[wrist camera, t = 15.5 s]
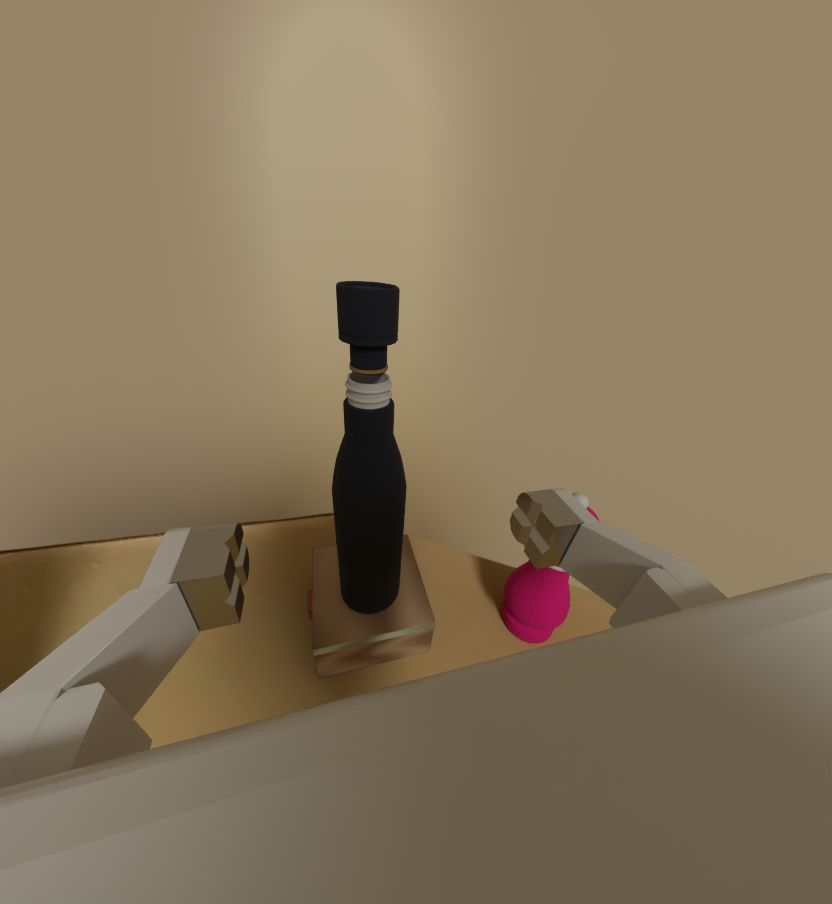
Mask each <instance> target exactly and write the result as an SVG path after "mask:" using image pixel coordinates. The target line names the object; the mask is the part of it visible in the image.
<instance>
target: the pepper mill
mask: <svg viewBox="0 0 832 904" xmlns="http://www.w3.org/2000/svg"><path fill="white" fill-rule="evenodd" d="M572 495H573V496H574V497H575V498H576V499H577V500H578V501H579V502H580V503H581V504H582V505H583V506H584V507H585V508H586V509H587V510H588V511H589V512H590V513H591V514H592V515H593V516H594V517H595V518H596V519H597V520H598V521H599V519H598V517H597V516H596V514H595V513H594V512H593V511H592V510H591V509H590V508H589V507H588V504H589V502H588V498H587V497H586V496H585V495H584V494H582V493H573V494H572ZM599 522H600V521H599ZM559 566H560V565H558V566H551V567H544V568H538V569H536V568H535V567H534V565H533V564H532V562H531V561H530V559H529V561H528V562H526V563H525V564H523V565H521V566H520V567H518V568H516V569H515V570H514V571H513V572H512V573H511V575H510V576H509V578H508V580H507V582H506V584H505V588H504V597H505V599H504V602H503V605H502V609H501V613H502V618H503V621H504V623H505V625H506V626H507V628H508V629H509V631H510V632H511V633H513V634H514V635H515V636H516V637H517V638H519V639H521V640H523V641H526V642H529V643H541V642H544V641H545V640H547V639H548V638H549V637H550V636H551V634H552V632H553V630H554V628H556V627H558V626H560V625H561V624H562V623H563V622H564V620H565V619H566V617H567V614H568V611H569V608H570V592H569V584H568V580H569V575H570V574H568V573H567V572H566V571H564V570H563V569H562V568H560V567H559Z"/></svg>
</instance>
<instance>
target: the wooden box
mask: <svg viewBox="0 0 832 904" xmlns="http://www.w3.org/2000/svg"><path fill="white" fill-rule="evenodd" d="M308 613H309V619H312V646H313V656H314V658H315V663H316V668H317V673H318V679H319V678H323V677H327V676H331V675H335V674H339V673H343V672H347V671H351V670H355V669H359V668H363V667H367V666H371V665H375V664H379V663H383V662H387V661H391V660H395V659H399V658H403V657H407V656H411V655H415V654H420V653H424V652H428V651H430V646H431V640H432V635H433V629H434V628H435V619H434V616H433V613H432V610H431V607H430V603H429V600H428V597H427V594H426V591H425V588H424V585H423V582H422V579H421V575H420V572H419V569H418V566H417V563H416V560H415V557H414V554H413V551H412V547H411V544H410V541H409V538H408V535H403V544H402V558H401V573H400V587H399V592H398V596H397V597H396V599H395V601H394V602H393V604H391V605H390V606H389V607H388V608H387V609H385V610H383V611H381V612H378V613H374V614H363V613H358V612H356V611H354V610H352V609H350V608H349V607H348V606H347V605H346V603H345V602H344V600H343V598H342V595H341V588H340V577H339V565H338V554H337V545H334V546H327V547H320V548H314V549H313V550H312V590H310V591H308Z"/></svg>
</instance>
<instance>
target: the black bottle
mask: <svg viewBox="0 0 832 904" xmlns="http://www.w3.org/2000/svg"><path fill="white" fill-rule="evenodd" d="M336 295H337V312H338V330H339V339H340V340H341V341H343V342H345V343H348V344H350V360H351V361H350V369H351V370H352V371H353V372H352V373H350V374H349V375H348V376H347V381H346V382H345V386H346V387H347V391H346V396H347V398H346V399H345V400H344V404H343V405H344V425H345V434H344V437H343V440H342V443H341V446H340V449H339V452H338V455H337V458H336V463H335V469H334V475H333V484H332V497H333V508H334V520H335V531H336V543H337V554H338V565H339V577H340V588H341V595H342V598H343V600H344V602H345V603H346V605H347V606H348V607H349V608H350V609H352V610H354V611H356V612H358V613H363V614H374V613H378V612H381V611H383V610H385V609H387V608H388V607H389V606H390V605H391V604H393V602H394V601H395V599H396V597H397V596H398V592H399V587H400V573H401V558H402V544H403V530H404V515H405V501H406V480H405V474H404V468H403V463H402V458H401V455H400V452H399V449H398V446H397V443H396V440H395V437H394V434H393V426H394V402H393V400H392V399H391V396H392V394H391V391H390V389H391V387H392V383H391V382H390V376H389V375H388V374H386V373H385V372H386V371H387V369H388V365H387V345H391V344H394V343H396V342H397V340H398V334H397V333H398V316H399V288H398V287H397V286H395V285H391V284H385V283H378V282H365V281H364V282H363V281H345V282H339V283H337V285H336Z"/></svg>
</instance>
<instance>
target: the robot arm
mask: <svg viewBox="0 0 832 904" xmlns="http://www.w3.org/2000/svg"><path fill="white" fill-rule="evenodd" d="M516 503H517V505H518V508H516V509H515V510H514V511H513V512H512V515H511V518H510V525H511V531H512V533H513V535H514V537H515V539H516V540H517V541H518V542H520V543H521V544H523V545H525V550H524V552H525V553H526V555H527V556H528V558H529V559H530V561H531V562H532V564H533V565H534V567H535V568H536V569H538V568H544V567H551V566H558V565H560V566H559V567H560V568H562V569H563V570H564V571H566V572H567V573H568V574H570V575H571V576H572V577H574V578H575V579H576V580H578V581H579V582H581V583H582V584H583V585H585V586H586V587H587V588H589V589H590V590H591V591H593V592H594V593H595V594H597V595H598V596H600V597H601V598H602V599H604V600H605V601H606V602H608V603H609V604H610V605H612V606H613V607H614V608H616V609H617V610H616V612H615V613H614V614H613V616H612V617H611V618H610V625H611V626H612V627H613V628H612V629H608V630H604V631H601V632H597V633H593V634H589V635H585V636H581V637H578V638H574V639H570V640H566V641H562V642H558V643H555V644H551V645H547V646H543V647H539V648H535V649H532V650H528V651H524V652H520V653H516V654H512V655H509V656H505V657H501V658H497V659H493V660H489V661H486V662H482V663H478V664H474V665H470V666H466V667H463V668H459V669H455V670H451V671H447V672H443V673H440V674H436V675H432V676H428V677H424V678H420V679H417V680H413V681H409V682H405V683H401V684H397V685H394V686H390V687H386V688H382V689H378V690H374V691H371V692H367V693H363V694H359V695H355V696H351V697H348V698H344V699H340V700H336V701H332V702H329V703H325V704H321V705H317V706H313V707H309V708H306V709H302V710H298V711H294V712H290V713H286V714H283V715H279V716H275V717H271V718H267V719H264V720H260V721H256V722H252V723H248V724H244V725H241V726H237V727H233V728H229V729H225V730H221V731H218V732H214V733H210V734H206V735H202V736H199V737H195V738H191V739H187V740H183V741H179V742H176V743H172V744H168V745H164V746H160V747H156V748H153V749H150V746H151V743H152V740H151V738H150V737H149V736H148V734H147V733H146V732H145V731H144V730H143V729H142V728H141V727H140V726H139V724H138V723H137V722H136V721H135V720H134V719H133V718H134V716H135V715H136V714H137V713H138V711H139V710H140V709H141V708H142V706H143V705H144V704H145V702H146V701H147V700H148V699H149V697H150V696H151V695H152V694H153V692H154V691H155V690H156V688H157V687H158V686H159V685H160V683H161V682H162V681H163V680H164V678H165V677H166V676H167V674H168V673H169V672H170V671H171V669H172V668H173V667H174V666H175V664H176V663H177V662H178V660H179V659H180V658H181V657H182V655H183V654H184V653H185V652H186V650H187V649H188V648H189V646H190V645H191V644H192V643H193V641H194V640H195V639H196V638H197V636H198V635H199V634H200V632H199V631H203V630H207V629H212V628H217V627H222V626H227V625H232V624H236V623H240V619H241V613H242V608H243V602H244V595H243V591H242V587H243V586H244V585H245V584H246V582H247V579H248V573H249V555H248V549H247V545H245V544H244V543H242V538H243V530H242V527H241V524H240V523H230V524H218V525H207V526H195V527H189V528H176V529H170V530H168V531H167V532H166V533H165V534H164V536H163V538H162V540H161V542H160V544H159V546H158V548H157V551H156V553H155V555H154V557H153V559H152V561H151V563H150V565H149V567H148V569H147V571H146V573H145V576H144V578H143V580H142V582H141V584H140V586H139V588H137V589H131V590H129V591H128V592H127V593H125V594H124V595H123V596H122V597H120V598H119V599H118V600H117V601H115V602H114V603H113V604H112V605H110V606H109V607H108V608H107V609H105V610H104V611H103V612H102V613H100V614H99V615H98V616H97V617H95V618H94V619H93V620H91V621H90V622H89V623H88V624H86V625H85V626H84V627H83V628H81V629H80V630H79V631H78V632H76V633H75V634H74V635H73V636H71V637H70V638H69V639H68V640H66V641H65V642H64V643H63V644H61V645H60V646H59V647H58V648H56V649H55V650H54V651H53V652H51V653H50V654H49V655H48V656H46V657H45V658H44V659H43V660H41V661H40V662H39V663H38V664H36V665H35V666H34V667H32V668H31V669H30V670H29V671H27V672H26V673H25V674H24V675H22V676H21V677H20V678H19V679H17V680H16V681H15V682H14V683H12V684H11V685H10V686H9V687H7V688H6V689H5V690H4V691H2V692H1V693H0V904H832V574H829V573H825V574H818V575H815V576H811V577H807V578H803V579H800V580H796V581H792V582H788V583H784V584H780V585H777V586H773V587H769V588H765V589H761V590H758V591H753V592H750V593H746V594H742V595H739V596H734V597H731V598H727V597H726V596H725V595H724V594H723V593H721V592H720V591H719V590H718V589H717V588H716V587H714V586H713V585H712V584H711V583H710V582H709V581H708V580H707V579H706V578H704V577H703V576H702V575H701V574H700V573H699V572H697V571H696V570H695V569H694V568H693V567H692V566H691V565H690V564H688V563H687V562H686V561H685V560H683V559H681V558H678V557H677V556H674V555H672V554H670V553H668V552H666V551H664V550H662V549H660V548H658V547H656V546H653V545H651V544H649V543H647V542H645V541H643V540H641V539H639V538H637V537H635V536H633V535H631V534H629V533H627V532H624V531H622V530H620V529H618V528H616V527H614V526H612V525H610V524H608V523H606V522H604V521H600V522H599V521H598V520H597V519H596V518H595V517H594V516H593V515H592V514H591V513H590V512H589V511H588V510H587V509H586V508H585V507H584V506H583V505H582V504H581V503H580V502H579V501H578V500H577V499H576V498H575V497H574V496H573V495H572V494H571V493H570V492H569V491H568V490H566V489H564V488H557V489H550V490H541V491H533V492H523V493H521V494H520V495H519V496H518V498H517V501H516Z"/></svg>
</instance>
